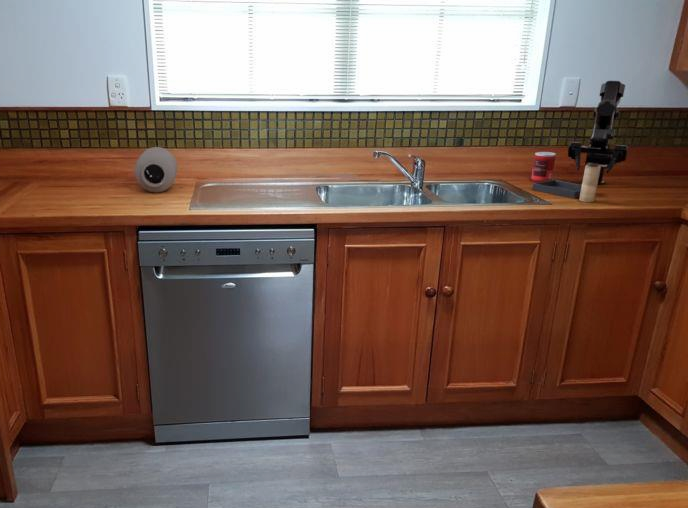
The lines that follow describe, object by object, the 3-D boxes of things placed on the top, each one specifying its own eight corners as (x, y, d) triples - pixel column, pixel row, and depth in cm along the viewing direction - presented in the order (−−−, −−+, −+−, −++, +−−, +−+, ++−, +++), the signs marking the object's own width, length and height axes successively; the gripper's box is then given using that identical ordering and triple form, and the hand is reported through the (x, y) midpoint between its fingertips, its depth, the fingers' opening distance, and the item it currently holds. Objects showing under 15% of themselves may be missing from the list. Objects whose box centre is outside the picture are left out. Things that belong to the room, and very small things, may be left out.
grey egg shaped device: (195, 172, 233) (180, 175, 209) (171, 201, 237) (154, 207, 212) (157, 138, 231) (138, 138, 207) (133, 168, 234) (112, 170, 210)
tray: (553, 185, 236) (554, 179, 235) (594, 193, 223) (596, 187, 222) (532, 189, 230) (533, 183, 229) (573, 198, 216) (575, 191, 215)
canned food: (547, 179, 248) (552, 151, 244) (553, 183, 241) (558, 155, 237) (528, 178, 249) (532, 151, 245) (534, 182, 242) (538, 154, 238)
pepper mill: (584, 198, 216) (591, 161, 211) (596, 201, 213) (604, 163, 208) (576, 200, 214) (583, 163, 209) (588, 202, 210) (596, 165, 205)
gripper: (574, 118, 214) (564, 154, 209) (633, 121, 206) (625, 159, 201) (572, 138, 223) (563, 173, 219) (629, 142, 215) (621, 178, 210)
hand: (592, 170), depth 212 cm, fingers open, 9 cm apart
